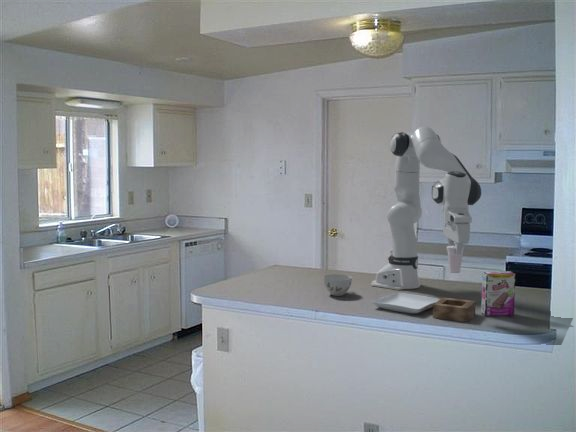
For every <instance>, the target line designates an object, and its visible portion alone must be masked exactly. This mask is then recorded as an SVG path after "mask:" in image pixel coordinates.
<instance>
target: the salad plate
mask: <svg viewBox="0 0 576 432" xmlns="http://www.w3.org/2000/svg"><path fill="white" fill-rule="evenodd" d="M440 299H441V298H436V297H431V296H426V295H418V294H412V293H403V292H394V293H391V294H389V295H385V296H383V297H380V298H377V299H375V300H372V301H371V303H372V304H373V305H374V306H375V307H378V308H380V309H384V310H388V311H394V312H400V313H405V314H413V315H414V314H415V315H416V314H419V313H422V312H425V311H426V310H429V309H431V308H433V304H434V303H436V302H437V301H439V300H440Z"/></svg>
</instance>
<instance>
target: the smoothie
mask: <svg viewBox="0 0 576 432" xmlns="http://www.w3.org/2000/svg"><path fill="white" fill-rule="evenodd" d="M456 247H457V245H456V242H455V241H454V245H453V246H449V245H447V246H446V251H447V256H448V257H447V258H448V267H449V273H451V274H460V273H461V267H462V261H463V255H464V254H463V253H464V250H465V246H463V247H462V251H461V254H456V253H455V252H456V251H455V250H456Z"/></svg>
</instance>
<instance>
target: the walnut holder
mask: <svg viewBox="0 0 576 432" xmlns="http://www.w3.org/2000/svg"><path fill="white" fill-rule="evenodd" d="M439 299H440V300H439V301H437V302H436V303H434V304H433V307H432V318H434V319H442V320H448V321H457V322H465V323H467V322H468V321H470V319H472V318H473V317H474V316H475V315H476V300H469V299H459V298H452V297H441V298H439Z"/></svg>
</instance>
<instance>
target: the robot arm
mask: <svg viewBox="0 0 576 432" xmlns="http://www.w3.org/2000/svg"><path fill="white" fill-rule="evenodd" d="M389 145H390V147H389V148H390V152H391V153H392V155H394V156H396V160H395V165H394V179H393V180H394V183H393V184H394V185H393V189H394V192H395V197H396V204H393V205H392V206H391V207H390V208H389V210H388V211H387V214H386V215H387V216H386V217H387V221H388V223H389V226H390V232H391V237H392V254H390V256H388V257H387V261H388V263H386V265H383V267H381V268H380V269H379V270H378V271H377V273H376V275H375V279H374V280H371V283H370V286H371V287H377V288H378V287H379V288H384V289H391V290H397V291H400V290H411V289H417V288H420V287H421V284H420V280H419V275H418V273H419V272H418V268H419V256H418V239H417V235H416V233H415V231H416V230H415V224H416V223H417V222H419V220H420V218H421V217H422V216H423V215H422V213H423V209H422V207H421V199H420V197H421V196H420V173H421V172H420V170H421V165H423V166H424V167H425V168H429V169H433V170H439V171H443V172H446V174H445V175H444V176H445V177H443V178H442V179H439V180H437V181H436V182H434V184H433V185H432V186H431V199H432V200H433V201H434V203H436V204H437V205H441V206H443V228H442V229H443V230H442V234H443V237H445V238H447V241H448V246H453V245H455V242H456V245H457V247H456V250H455V251H456V252H455V253H456V254H461V251H462V247H464V245H465V244H466V245H467V244H469V243H470V237H471V224H472V221H473V219H472V218H473V217H472V216H471V215H470V212H469V206H474V205H475V204H476V203H477V202H478V201H479V200H480V199H481V197H482V188H481V185H480V183H479V182H478V181H477V180H476V179H475V178H474V177H473V176H472V175H471V174H470V173H469V171H468V170H467V169H466V166H464V164H463V163H462V161H461V160H460V159H459V158H458V156H457V155H455V154H454V153H452V152H451V151H450V150H448V149H447V148H446V147H445V146H444V145H443V144H442V142H441V138H440V136H439V135H438V134H437V133H436V132H435V131H434V130H433V129H432V128H431V127H429V126H420V127H418V128H417V129H416V130H415V131H412V132H411V131H408V132H407V131H406V132H403V131H401V132H396V133H394V134H393V135H391V139H390V143H389ZM420 164H421V165H420Z"/></svg>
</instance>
